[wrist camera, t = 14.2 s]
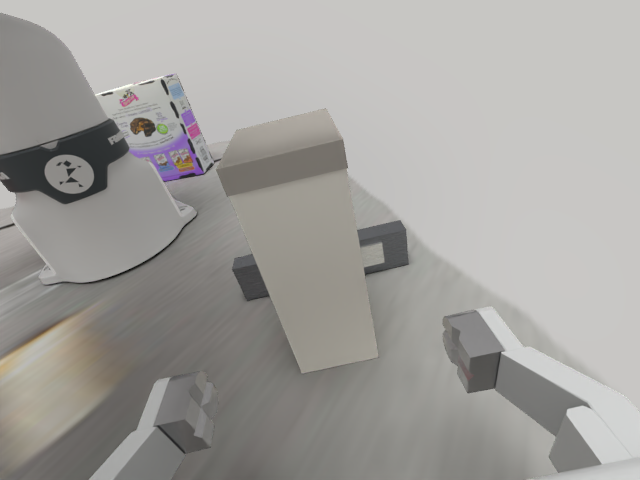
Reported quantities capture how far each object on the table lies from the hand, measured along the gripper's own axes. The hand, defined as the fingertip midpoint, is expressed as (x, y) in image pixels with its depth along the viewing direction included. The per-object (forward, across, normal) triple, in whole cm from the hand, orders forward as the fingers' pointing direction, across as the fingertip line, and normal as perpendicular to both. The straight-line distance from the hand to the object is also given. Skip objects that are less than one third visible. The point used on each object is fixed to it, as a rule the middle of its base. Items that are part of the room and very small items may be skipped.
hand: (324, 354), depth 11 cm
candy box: (+54, +25, +8) cm, 60 cm away
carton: (+9, 0, +9) cm, 12 cm away
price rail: (+14, 0, +9) cm, 17 cm away
